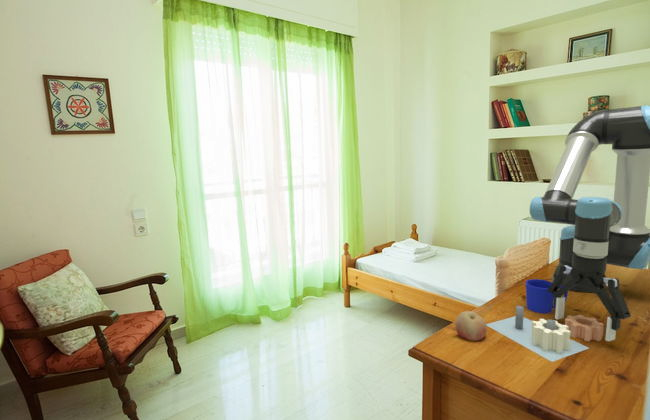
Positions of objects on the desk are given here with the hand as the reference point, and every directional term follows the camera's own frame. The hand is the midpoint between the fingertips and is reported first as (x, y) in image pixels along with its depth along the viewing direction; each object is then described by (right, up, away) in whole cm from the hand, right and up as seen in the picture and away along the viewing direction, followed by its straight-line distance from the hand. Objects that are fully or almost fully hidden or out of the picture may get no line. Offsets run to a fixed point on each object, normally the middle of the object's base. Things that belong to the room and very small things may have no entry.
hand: (583, 328), depth 99 cm
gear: (-12, -3, -4) cm, 13 cm away
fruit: (-30, -4, +3) cm, 31 cm away
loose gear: (0, -3, +1) cm, 3 cm away
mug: (0, -1, +16) cm, 16 cm away
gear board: (-14, -4, +1) cm, 14 cm away
